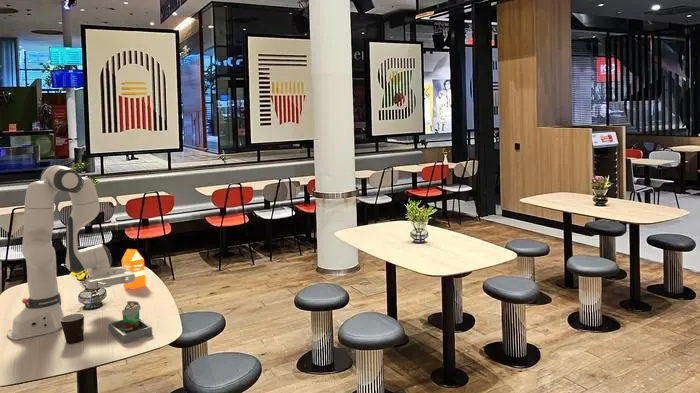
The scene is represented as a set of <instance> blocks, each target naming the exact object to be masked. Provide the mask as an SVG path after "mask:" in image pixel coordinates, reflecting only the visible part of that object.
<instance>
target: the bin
mask: <svg viewBox="0 0 700 393" xmlns="http://www.w3.org/2000/svg"><path fill="white" fill-rule="evenodd" d="M139 319H140V327H139V328H138V329H137V330H134V331H131V332H126V333H125V328H124V321H123V319H122V320H117V321H113V322H110V323H108V325H107V326H108V332H109V333H110V334H111V335H113V336H114V337H115V338H116V339H118V340H119V341H120V342H122V344H124V345H125V344H127V343H130V342H134V341H137V340H140V339H143V338H148V337H151V336H153V328H152V327H153V326H151V325H149V324H148V323H146V322H145V321H144V320H142V319H141V318H139Z"/></svg>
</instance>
